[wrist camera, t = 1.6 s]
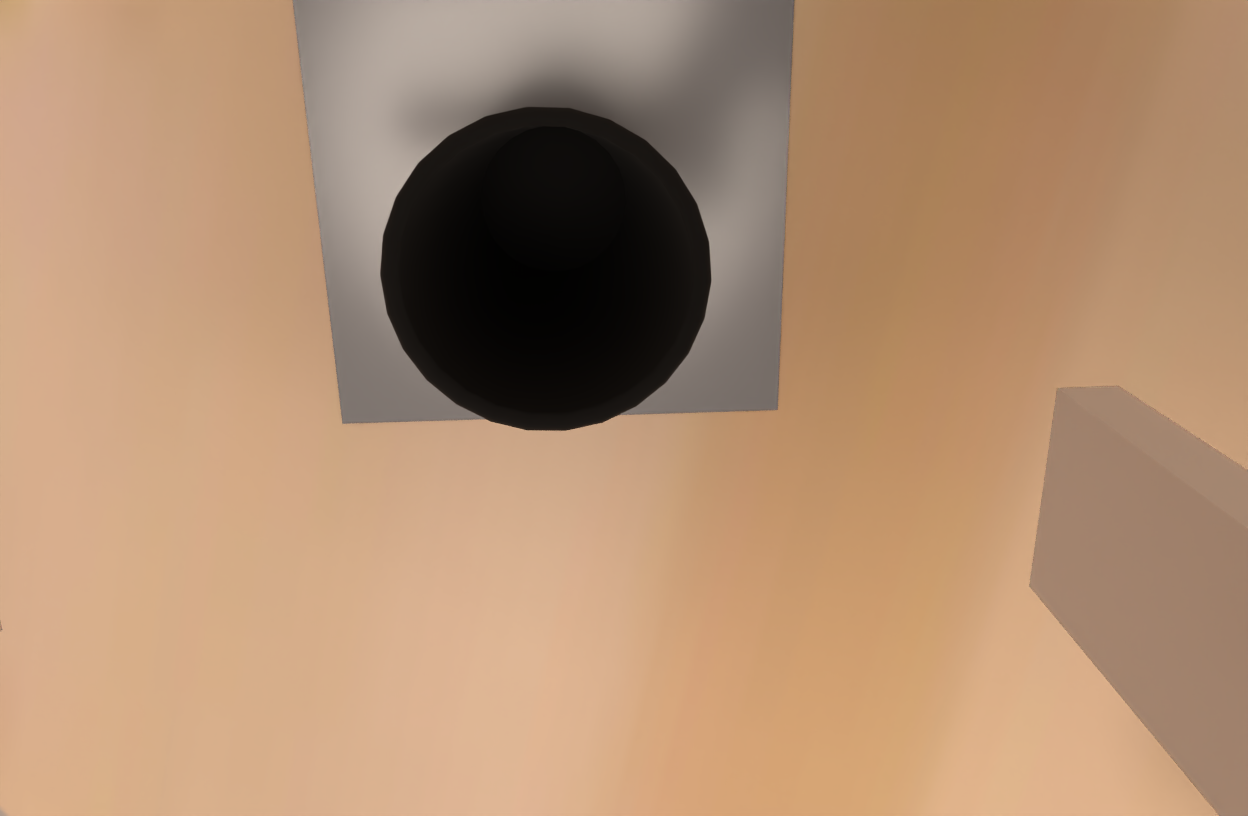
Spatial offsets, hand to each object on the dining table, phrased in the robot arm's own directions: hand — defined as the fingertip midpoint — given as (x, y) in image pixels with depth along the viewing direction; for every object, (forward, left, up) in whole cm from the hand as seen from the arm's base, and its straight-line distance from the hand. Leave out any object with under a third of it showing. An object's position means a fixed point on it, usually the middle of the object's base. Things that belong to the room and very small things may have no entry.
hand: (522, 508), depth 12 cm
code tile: (0, 0, -24) cm, 24 cm away
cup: (0, 0, -24) cm, 24 cm away
